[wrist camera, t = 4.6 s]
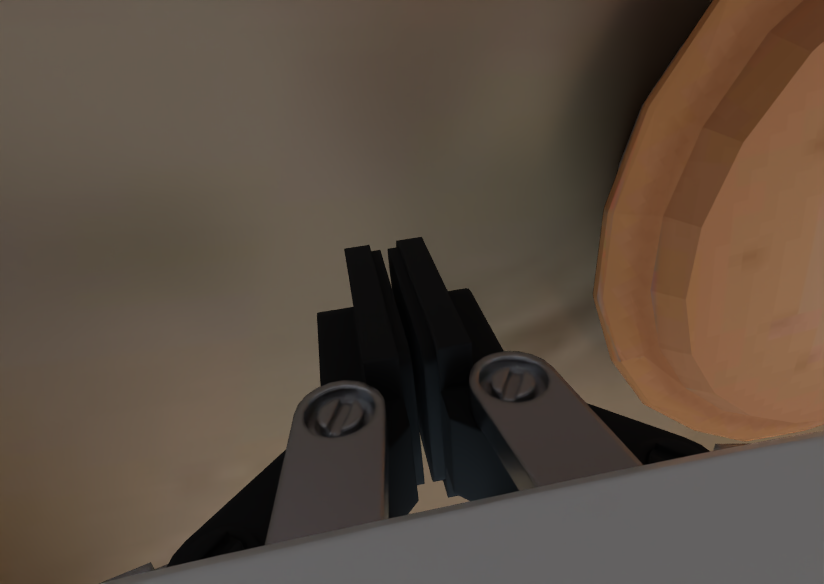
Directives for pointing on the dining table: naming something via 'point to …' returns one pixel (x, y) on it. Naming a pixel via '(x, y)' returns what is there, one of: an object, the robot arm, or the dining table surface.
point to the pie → (724, 228)
